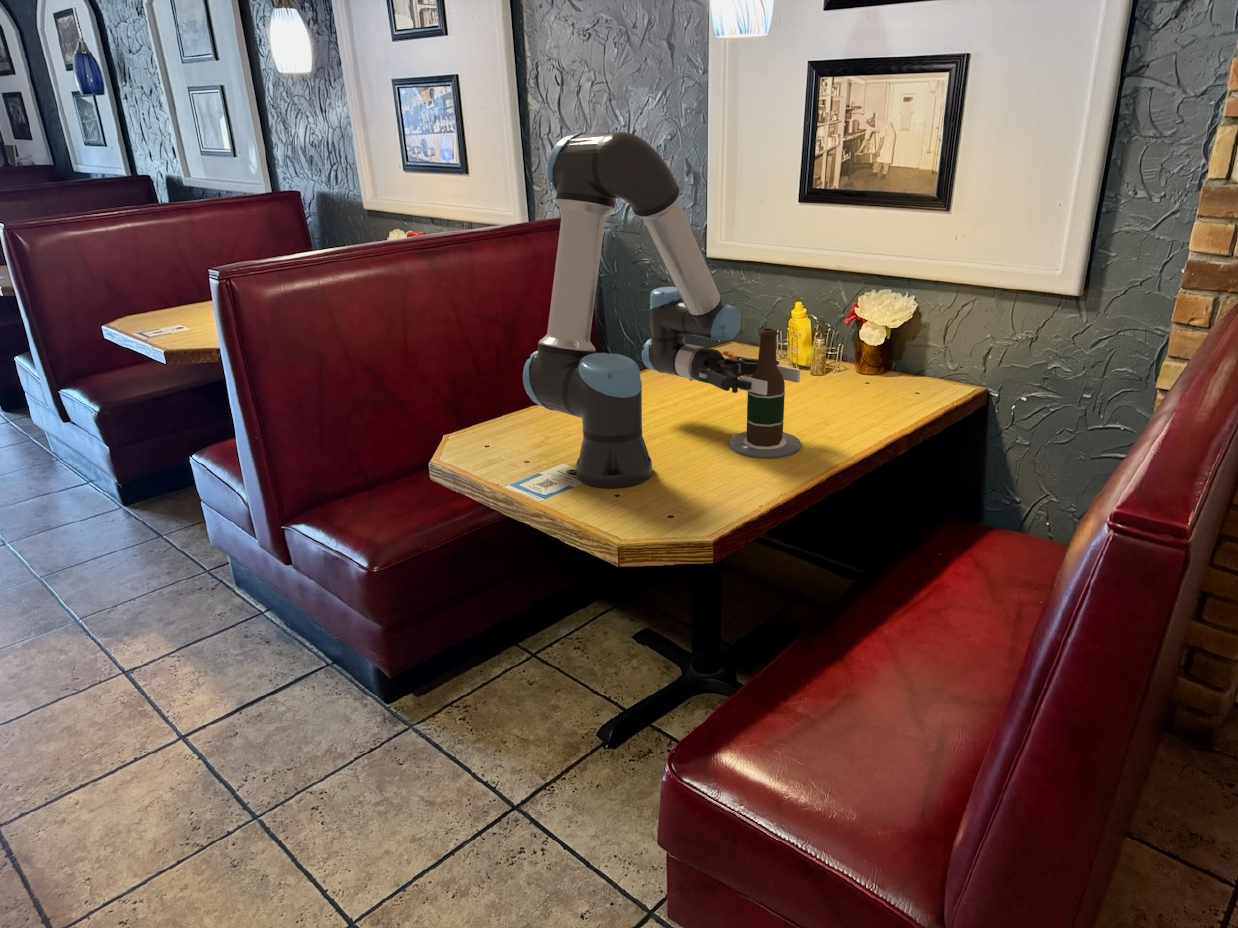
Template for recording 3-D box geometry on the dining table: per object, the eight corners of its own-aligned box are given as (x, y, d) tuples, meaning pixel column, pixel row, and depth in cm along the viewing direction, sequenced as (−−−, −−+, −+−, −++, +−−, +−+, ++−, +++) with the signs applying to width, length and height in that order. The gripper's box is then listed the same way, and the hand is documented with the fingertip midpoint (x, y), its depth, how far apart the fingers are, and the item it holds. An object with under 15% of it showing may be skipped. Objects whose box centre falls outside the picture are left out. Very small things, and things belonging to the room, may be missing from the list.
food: (714, 367, 239) (714, 350, 237) (732, 365, 240) (732, 348, 239) (738, 380, 227) (738, 362, 225) (756, 377, 228) (756, 359, 226)
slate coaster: (772, 463, 170) (772, 459, 170) (714, 446, 181) (714, 442, 180) (814, 443, 180) (814, 439, 180) (757, 428, 190) (758, 424, 190)
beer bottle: (790, 440, 180) (795, 328, 171) (769, 449, 175) (773, 335, 166) (759, 432, 185) (763, 324, 176) (738, 442, 180) (741, 330, 171)
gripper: (733, 369, 196) (814, 387, 181) (665, 392, 181) (747, 413, 166) (733, 337, 193) (816, 352, 178) (664, 358, 178) (748, 376, 163)
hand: (782, 382), depth 172 cm, fingers open, 10 cm apart
